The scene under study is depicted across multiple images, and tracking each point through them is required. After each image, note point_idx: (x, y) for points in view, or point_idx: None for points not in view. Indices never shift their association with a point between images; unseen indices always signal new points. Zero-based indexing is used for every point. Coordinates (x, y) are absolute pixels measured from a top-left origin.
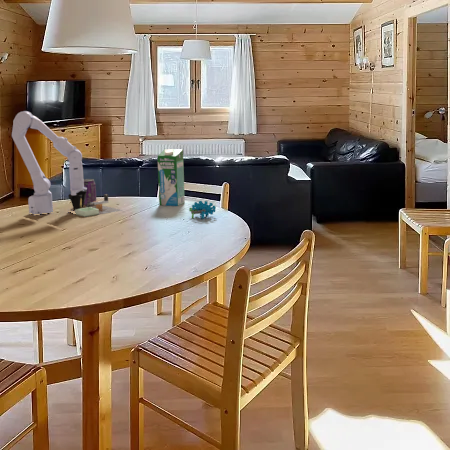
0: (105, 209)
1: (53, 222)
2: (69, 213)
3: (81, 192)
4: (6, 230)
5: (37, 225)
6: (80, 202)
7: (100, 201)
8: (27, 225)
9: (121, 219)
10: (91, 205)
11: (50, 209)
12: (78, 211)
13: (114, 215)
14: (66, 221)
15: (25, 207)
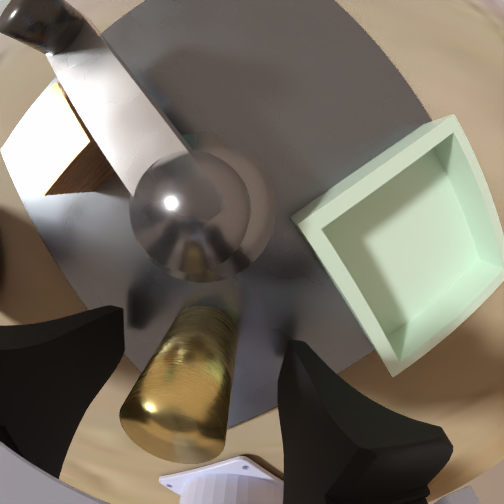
0: (177, 57)
1: (463, 415)
2: None
3: (11, 417)
4: (467, 480)
5: (471, 445)
6: (213, 375)
7: (110, 73)
8: (447, 471)
9: (497, 30)
10: (249, 197)
11: (263, 502)
12: (435, 333)
13: (395, 14)
14: (482, 362)
15: None
